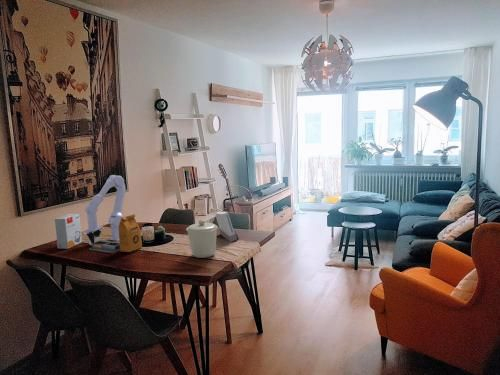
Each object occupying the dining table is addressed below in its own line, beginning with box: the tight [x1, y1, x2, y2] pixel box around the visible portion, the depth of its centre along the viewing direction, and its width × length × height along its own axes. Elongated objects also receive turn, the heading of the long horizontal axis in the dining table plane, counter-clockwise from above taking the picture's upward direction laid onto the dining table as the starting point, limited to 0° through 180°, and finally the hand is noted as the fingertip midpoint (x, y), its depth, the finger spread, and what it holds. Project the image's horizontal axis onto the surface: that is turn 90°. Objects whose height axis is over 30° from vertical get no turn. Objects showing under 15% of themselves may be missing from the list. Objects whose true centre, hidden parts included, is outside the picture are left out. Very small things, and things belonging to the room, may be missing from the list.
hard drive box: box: [54, 213, 83, 250], centre depth 255 cm, size 16×8×20 cm, turn 168°
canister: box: [185, 219, 219, 259], centre depth 223 cm, size 18×18×21 cm
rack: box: [88, 239, 120, 254], centre depth 245 cm, size 12×20×4 cm, turn 64°
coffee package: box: [118, 213, 143, 253], centre depth 238 cm, size 10×12×22 cm
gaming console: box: [214, 211, 240, 243], centre depth 258 cm, size 23×8×20 cm, turn 21°
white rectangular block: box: [88, 236, 101, 246], centre depth 255 cm, size 3×7×5 cm, turn 63°
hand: (94, 242), depth 256 cm, fingers closed on white rectangular block, 3 cm apart
